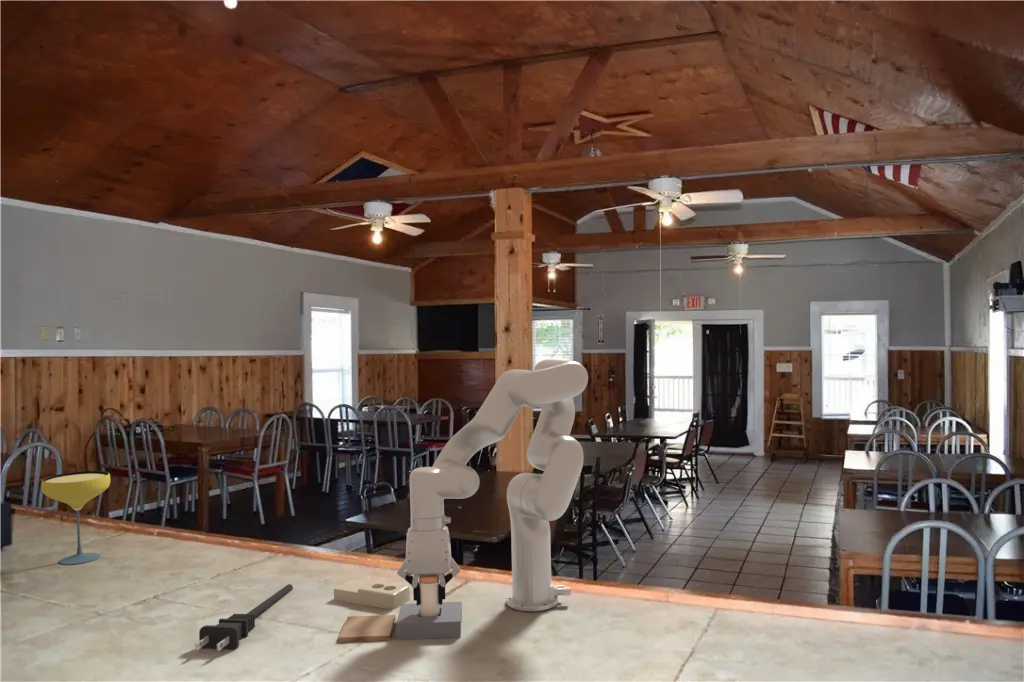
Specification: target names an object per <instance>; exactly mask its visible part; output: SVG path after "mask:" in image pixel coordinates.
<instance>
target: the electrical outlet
mask: <svg viewBox="0 0 1024 682" xmlns="http://www.w3.org/2000/svg"><path fill="white" fill-rule="evenodd" d="M334 600H335V601H341V602H346V603H352V604H358V605H364V606H369V607H374V608H375V607H376V608H380V609H381V608H382V609H387V610H392V611H393V610H394V611H395V610H396V609H398V608H399V607H401V604H407V602H410V600H411V598H410V586H409V585H405V584H400V583H393V582H387V581H386V582H385V581H381V580H372V581H371V582H367V581H360V580H356V579H355V580H354V579H350V580H348V581H346V582H345V583H342V584H340V585H338V586H336V587H334V588H333V601H334Z"/></svg>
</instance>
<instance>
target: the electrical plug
mask: <svg viewBox="0 0 1024 682" xmlns="http://www.w3.org/2000/svg"><path fill="white" fill-rule="evenodd" d="M293 589H294V587H293V585H292V584H290V583H288V584H286V585H284V586H283V587H282V588H281V589H280V590H277V592H275V593H274V594H272V595H271V596H270V597H268V598H266V600H264V601H263V602H261V603H259V604H258V605H257V606H255V607H254V608H252V609H251V610H250V611H248V612H246V613H233V614H231V615H230V616H229V617H227V618H219V619H218V623H217V624H215V625H210V624H209V625H206V624H205V625H203V626H201V628H200V629H199V632H198V636H199V638H198V642H196V643H195V651H198V650H199V649H211V650H216V651H217V652H220V651H221V650H234V651H235V650H237V649H238V648H239V646H240V640H241V638H247V637H249V632H250V631H251V630H252V629H253V628H255V627H256V625H255V624H256V617H258V616H259V615H260V614H261V613H263V612H265V611H266V610H267V609H268V608H269V607H271V606H272V605H274V604H275V603H277V602H278V601H279V600H280V599H282V598H284V597H285V595H287V594H289V593H290V592H292V591H293Z"/></svg>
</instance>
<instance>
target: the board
mask: <svg viewBox="0 0 1024 682" xmlns="http://www.w3.org/2000/svg"><path fill="white" fill-rule="evenodd" d="M394 622H396V614H378V615H359V616H358V615H355V616H347V618H346V620H345V622H344V625H343V627H342V629H341V632H340V633H339V635H338V642H339V643H345V642H346V643H347V642H348V643H349V642H371V641H373V642H374V641H375V642H376V641H390V640H391V638H392V637H391V636H392V633H393V629H394V626H395V623H394Z"/></svg>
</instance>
